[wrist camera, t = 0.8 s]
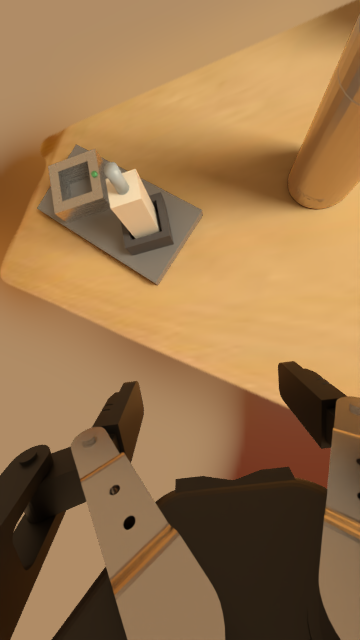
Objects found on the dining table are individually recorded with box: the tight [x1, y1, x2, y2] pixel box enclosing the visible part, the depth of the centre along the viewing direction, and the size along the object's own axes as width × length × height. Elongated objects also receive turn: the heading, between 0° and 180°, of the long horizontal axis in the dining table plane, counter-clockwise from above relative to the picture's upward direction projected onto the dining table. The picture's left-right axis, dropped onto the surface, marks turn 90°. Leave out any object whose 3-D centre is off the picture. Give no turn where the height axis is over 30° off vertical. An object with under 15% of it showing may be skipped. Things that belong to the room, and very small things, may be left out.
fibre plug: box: [104, 162, 161, 239], centre depth 29 cm, size 4×4×13 cm
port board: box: [37, 145, 203, 285], centre depth 38 cm, size 14×28×2 cm, turn 57°
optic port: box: [48, 149, 111, 223], centre depth 36 cm, size 9×9×3 cm
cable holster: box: [121, 192, 174, 255], centre depth 34 cm, size 7×7×3 cm
